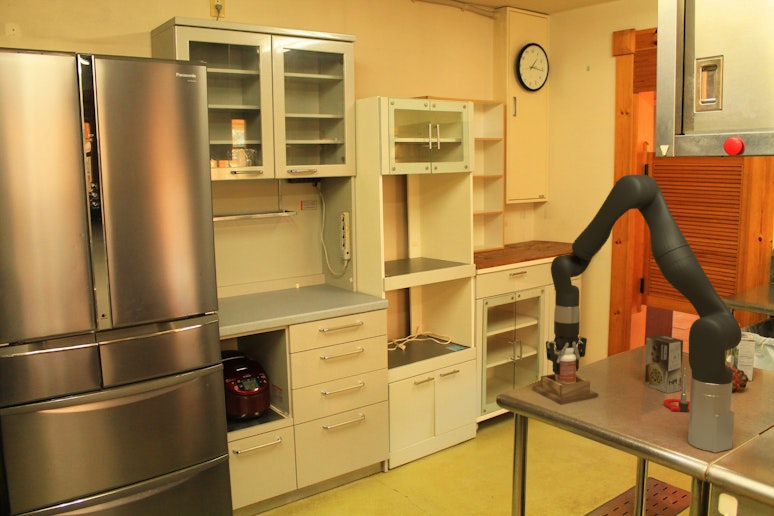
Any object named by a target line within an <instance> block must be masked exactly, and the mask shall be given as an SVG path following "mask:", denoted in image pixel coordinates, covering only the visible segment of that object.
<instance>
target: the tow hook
mask: <svg viewBox="0 0 774 516" xmlns="http://www.w3.org/2000/svg"><path fill="white" fill-rule="evenodd" d="M687 383H688V375H687V367H686V366H684V367H683V368H682V377H681V393H680V398H667V399H664V400H663V406H664V407H666V408H669V409H670V412H679V411H680V413H689V412H690V400H688V394H687ZM673 402H678V403H677V404H678V405H676V404H673Z"/></svg>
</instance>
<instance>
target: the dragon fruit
mask: <svg viewBox="0 0 774 516" xmlns="http://www.w3.org/2000/svg"><path fill="white" fill-rule="evenodd" d="M728 367H729V368H731V367H730V366H728ZM731 369H732V371H733V382H732V392H737V391H738V389H740V390H741V389H745V388H746V387H747V384H748V382H749V381H748V380H749V379H748V377H747V375H746V374H744V371H742V370H739V369H738V368H736V367H735V366H733V367H732V368H731Z"/></svg>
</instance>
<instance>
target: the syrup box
mask: <svg viewBox="0 0 774 516" xmlns="http://www.w3.org/2000/svg"><path fill="white" fill-rule="evenodd" d="M741 333H742V337H741V341H740V343H739V345H738V346H736V347H735V348H733V349H731V352H730V353H731V355H730V366H729V367H731V368H732V367H733V366H735V367H736V368H738V369H739V370H742V371H744V374H746V375H747V377H748V379H749V380H748V382H749V381H750V382H752V381H753V375H754V374H753V373H754V361H755V353H756V352H755V347H756V338H755V337H754V336H753V335H752V334H750V333H744V332H741Z"/></svg>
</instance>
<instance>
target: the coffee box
mask: <svg viewBox="0 0 774 516" xmlns="http://www.w3.org/2000/svg"><path fill="white" fill-rule="evenodd" d="M683 350H684V340H683V339H680V338H675V337H671V336H667V335H664V334H655V335H652V336H646V347H645V351H646V352H645V377H644V378H645V379H644V380H645V381H644V385H645V386H646V387H649V388H652V389H654V390H658V391H660V392H663V393H666V394H671V393H675V392H681V391H682V375H683V354H684V352H683Z"/></svg>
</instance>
